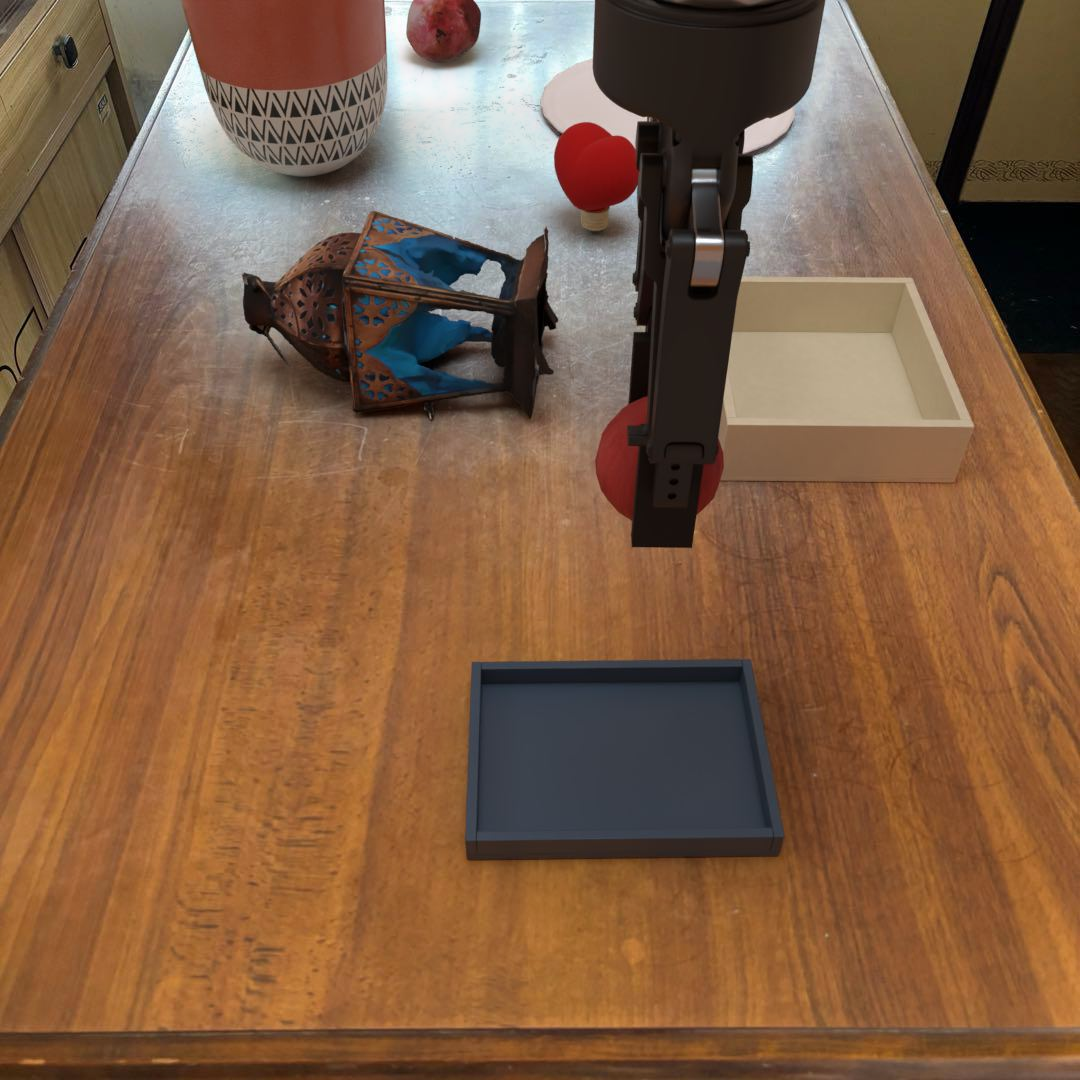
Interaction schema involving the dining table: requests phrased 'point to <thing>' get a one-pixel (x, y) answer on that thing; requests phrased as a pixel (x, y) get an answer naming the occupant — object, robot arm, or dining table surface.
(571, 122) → the plate
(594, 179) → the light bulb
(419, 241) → the lantern
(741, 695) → the tray
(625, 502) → the onion
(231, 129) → the planter
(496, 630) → the dining table surface
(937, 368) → the beige open rectangular box
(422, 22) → the fruit
